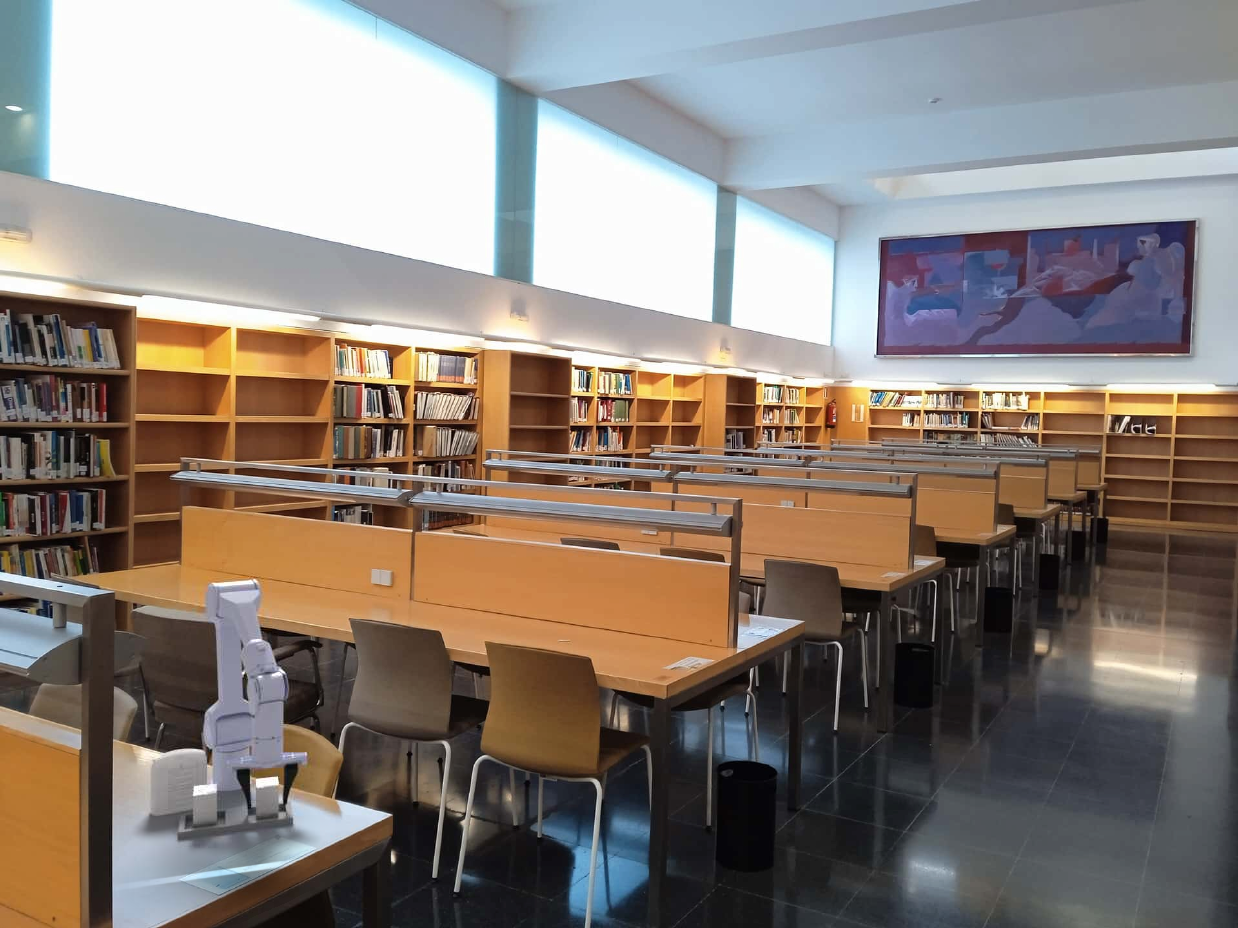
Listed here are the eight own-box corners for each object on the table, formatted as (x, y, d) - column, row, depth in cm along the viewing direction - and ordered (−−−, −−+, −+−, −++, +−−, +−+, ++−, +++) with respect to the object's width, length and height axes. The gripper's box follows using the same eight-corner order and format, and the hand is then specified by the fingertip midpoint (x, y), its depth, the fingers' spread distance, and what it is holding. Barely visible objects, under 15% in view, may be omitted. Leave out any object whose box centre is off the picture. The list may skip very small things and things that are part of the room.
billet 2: (255, 814, 189) (255, 778, 189) (277, 811, 190) (277, 776, 190) (256, 824, 184) (256, 787, 184) (278, 821, 186) (278, 785, 185)
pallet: (180, 824, 186) (180, 813, 186) (290, 810, 193) (290, 800, 193) (177, 842, 177) (177, 832, 177) (293, 827, 185) (293, 817, 185)
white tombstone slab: (204, 803, 196) (204, 742, 196) (209, 810, 193) (209, 748, 192) (148, 813, 190) (148, 751, 190) (152, 821, 187) (151, 757, 186)
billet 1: (194, 822, 185) (194, 785, 184) (216, 819, 186) (216, 783, 186) (193, 832, 180) (193, 795, 180) (216, 829, 182) (216, 792, 181)
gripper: (226, 745, 180) (226, 817, 181) (308, 737, 186) (308, 807, 186) (226, 734, 187) (226, 803, 187) (305, 726, 192) (305, 794, 193)
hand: (267, 804), depth 187 cm, fingers open, 6 cm apart
